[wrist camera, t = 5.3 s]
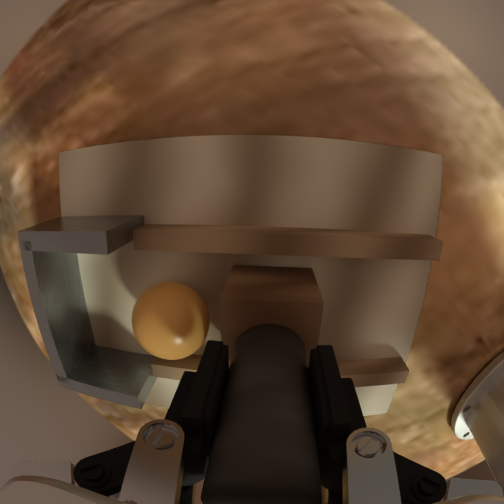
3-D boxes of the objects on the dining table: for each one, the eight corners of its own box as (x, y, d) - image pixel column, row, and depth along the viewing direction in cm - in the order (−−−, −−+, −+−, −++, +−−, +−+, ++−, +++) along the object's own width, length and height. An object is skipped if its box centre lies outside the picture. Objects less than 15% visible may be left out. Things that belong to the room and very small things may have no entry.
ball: (199, 305, 12) (112, 299, 12) (205, 379, 13) (128, 370, 13) (213, 271, 16) (143, 268, 16) (215, 335, 17) (151, 330, 17)
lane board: (430, 155, 14) (457, 154, 11) (381, 400, 19) (391, 427, 16) (72, 152, 16) (43, 152, 13) (109, 382, 21) (94, 405, 18)
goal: (143, 214, 15) (105, 231, 11) (162, 368, 18) (141, 409, 14) (61, 216, 15) (17, 231, 11) (88, 354, 18) (60, 386, 14)
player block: (311, 267, 15) (369, 454, 4) (303, 349, 16) (321, 529, 6) (233, 264, 15) (162, 446, 5) (233, 346, 16) (194, 523, 6)
